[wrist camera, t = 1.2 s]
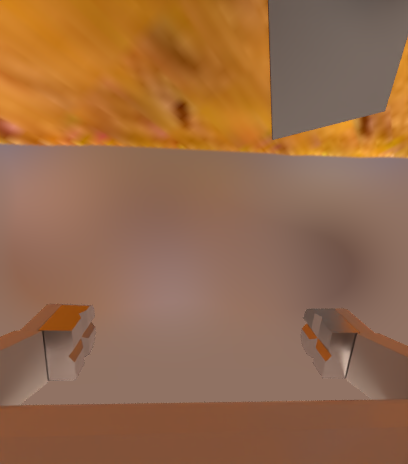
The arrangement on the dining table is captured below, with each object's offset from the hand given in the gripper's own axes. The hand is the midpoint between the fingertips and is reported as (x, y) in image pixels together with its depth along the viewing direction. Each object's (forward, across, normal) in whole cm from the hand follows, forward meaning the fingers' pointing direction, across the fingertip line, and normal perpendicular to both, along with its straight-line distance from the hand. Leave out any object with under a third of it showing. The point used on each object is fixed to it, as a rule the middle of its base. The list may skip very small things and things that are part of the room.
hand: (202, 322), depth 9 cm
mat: (+42, -26, -26) cm, 56 cm away
